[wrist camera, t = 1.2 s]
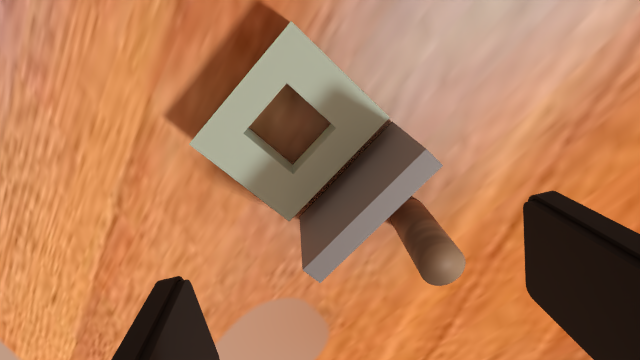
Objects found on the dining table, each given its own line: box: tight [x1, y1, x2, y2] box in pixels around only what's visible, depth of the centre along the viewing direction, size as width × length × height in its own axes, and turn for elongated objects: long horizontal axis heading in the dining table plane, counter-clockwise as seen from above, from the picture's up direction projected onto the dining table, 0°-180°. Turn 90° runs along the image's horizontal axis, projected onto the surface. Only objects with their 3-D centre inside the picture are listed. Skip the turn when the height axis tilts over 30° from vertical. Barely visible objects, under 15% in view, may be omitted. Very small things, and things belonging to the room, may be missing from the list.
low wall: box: [300, 122, 443, 283], centre depth 35 cm, size 14×2×10 cm, turn 137°
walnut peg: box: [390, 199, 465, 286], centre depth 37 cm, size 4×4×10 cm
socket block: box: [189, 21, 389, 221], centre depth 35 cm, size 14×12×3 cm
